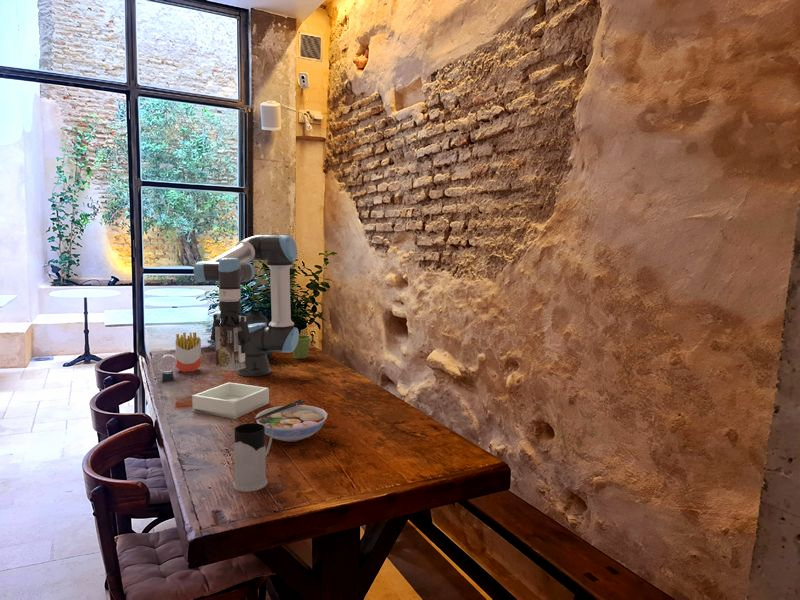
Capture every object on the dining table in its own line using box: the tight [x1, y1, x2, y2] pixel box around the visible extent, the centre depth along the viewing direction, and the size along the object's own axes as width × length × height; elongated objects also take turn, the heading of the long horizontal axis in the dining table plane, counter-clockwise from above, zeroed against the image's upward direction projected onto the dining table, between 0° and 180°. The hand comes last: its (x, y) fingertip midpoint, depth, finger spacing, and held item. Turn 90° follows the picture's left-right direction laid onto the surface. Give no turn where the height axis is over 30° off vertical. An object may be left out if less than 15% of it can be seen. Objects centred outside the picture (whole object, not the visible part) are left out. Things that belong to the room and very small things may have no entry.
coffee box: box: [215, 325, 246, 372], centre depth 198 cm, size 9×6×16 cm
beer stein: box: [239, 310, 273, 361], centre depth 281 cm, size 16×19×25 cm
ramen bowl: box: [247, 399, 329, 443], centre depth 171 cm, size 25×23×8 cm
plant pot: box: [292, 334, 312, 360], centre depth 285 cm, size 12×12×11 cm
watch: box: [156, 354, 177, 382], centre depth 238 cm, size 6×8×11 cm
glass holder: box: [232, 422, 273, 492], centre depth 141 cm, size 9×14×15 cm, turn 159°
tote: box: [191, 381, 270, 420], centre depth 201 cm, size 19×20×6 cm
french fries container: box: [175, 331, 202, 373], centre depth 253 cm, size 5×11×18 cm, turn 105°
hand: (230, 360), depth 199 cm, fingers closed on coffee box, 9 cm apart
